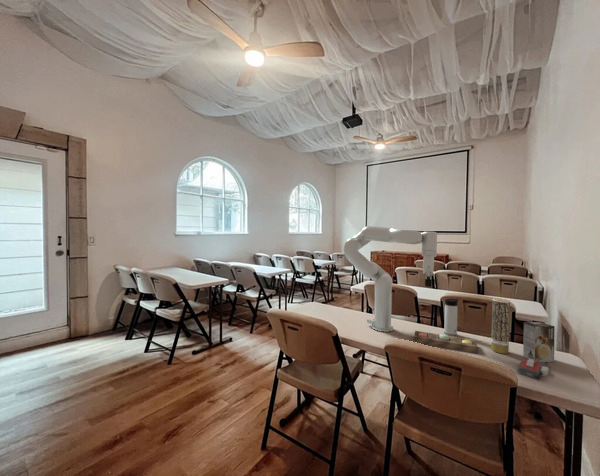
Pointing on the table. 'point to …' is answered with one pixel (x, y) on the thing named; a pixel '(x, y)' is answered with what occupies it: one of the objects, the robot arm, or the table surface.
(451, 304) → the travel mug
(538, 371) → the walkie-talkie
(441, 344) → the button panel
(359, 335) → the table surface
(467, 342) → the ochre button
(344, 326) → the table surface
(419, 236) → the robot arm
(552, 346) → the coffee box
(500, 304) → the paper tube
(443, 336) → the sage button
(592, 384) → the table surface
